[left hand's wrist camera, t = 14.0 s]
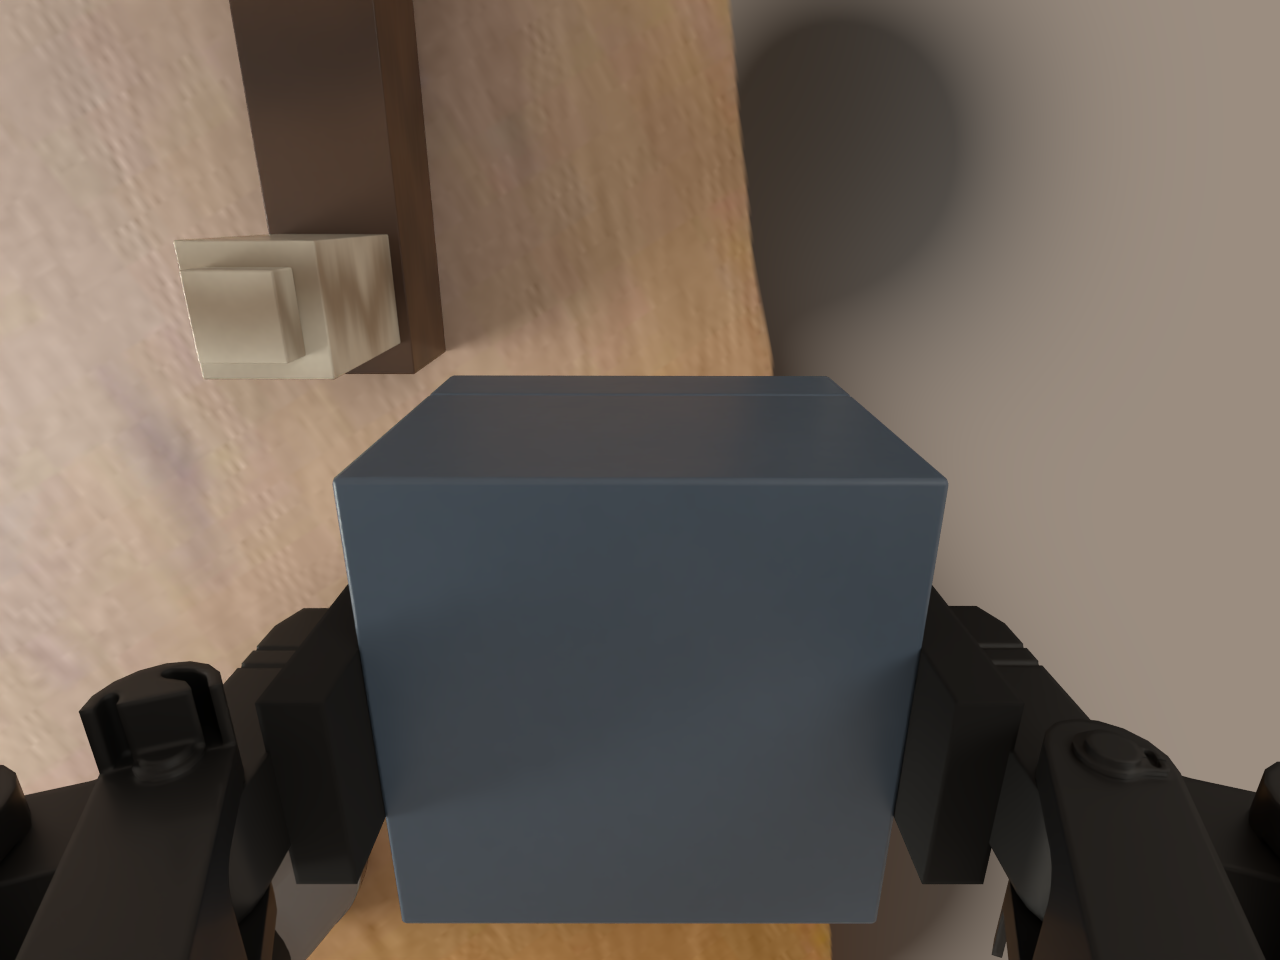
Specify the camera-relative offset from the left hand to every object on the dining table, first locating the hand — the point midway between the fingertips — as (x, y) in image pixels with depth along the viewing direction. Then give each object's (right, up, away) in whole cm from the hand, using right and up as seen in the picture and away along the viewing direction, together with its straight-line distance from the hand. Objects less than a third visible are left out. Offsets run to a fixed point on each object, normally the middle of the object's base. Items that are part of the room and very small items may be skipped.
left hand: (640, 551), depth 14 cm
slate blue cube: (0, 0, 0) cm, 0 cm away
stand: (-14, +21, +22) cm, 33 cm away
